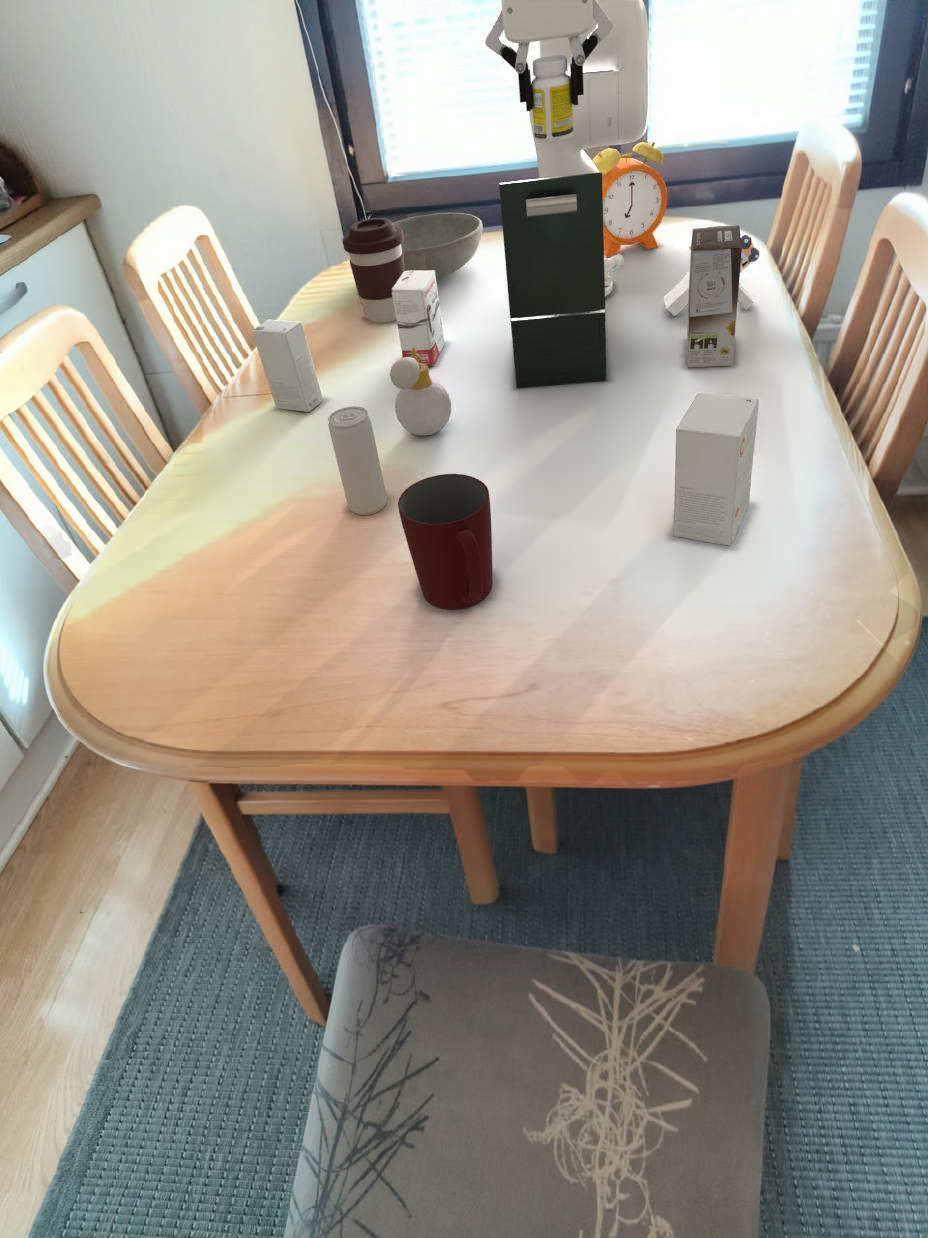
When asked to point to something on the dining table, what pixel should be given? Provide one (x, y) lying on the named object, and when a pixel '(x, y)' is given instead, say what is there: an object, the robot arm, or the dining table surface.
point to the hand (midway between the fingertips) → (551, 103)
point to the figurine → (681, 291)
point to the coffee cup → (375, 265)
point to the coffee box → (713, 295)
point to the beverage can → (357, 460)
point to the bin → (559, 348)
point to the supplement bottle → (551, 100)
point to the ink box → (419, 315)
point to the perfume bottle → (419, 397)
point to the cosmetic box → (288, 365)
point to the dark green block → (554, 244)
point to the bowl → (439, 241)
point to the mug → (449, 538)
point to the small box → (714, 467)
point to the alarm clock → (631, 197)
